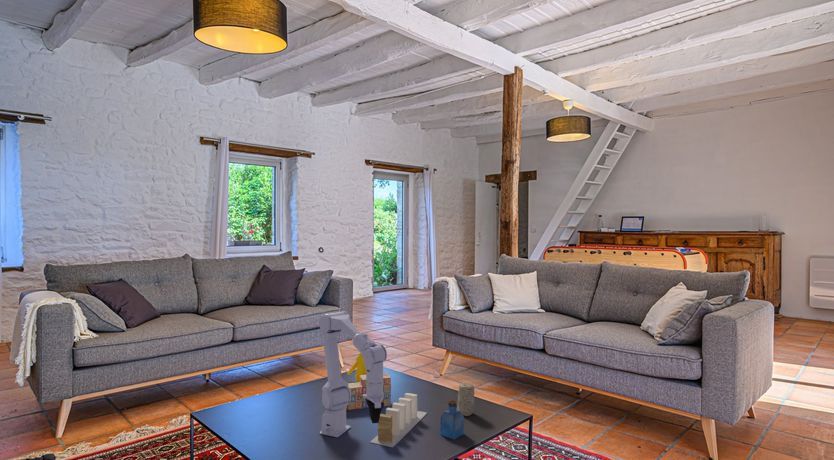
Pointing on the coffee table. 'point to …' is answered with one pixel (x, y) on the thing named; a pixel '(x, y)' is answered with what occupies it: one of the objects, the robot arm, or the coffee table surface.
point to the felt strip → (401, 431)
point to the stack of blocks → (360, 389)
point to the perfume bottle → (452, 422)
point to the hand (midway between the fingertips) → (374, 421)
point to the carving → (466, 399)
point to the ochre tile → (385, 428)
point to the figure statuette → (358, 368)
